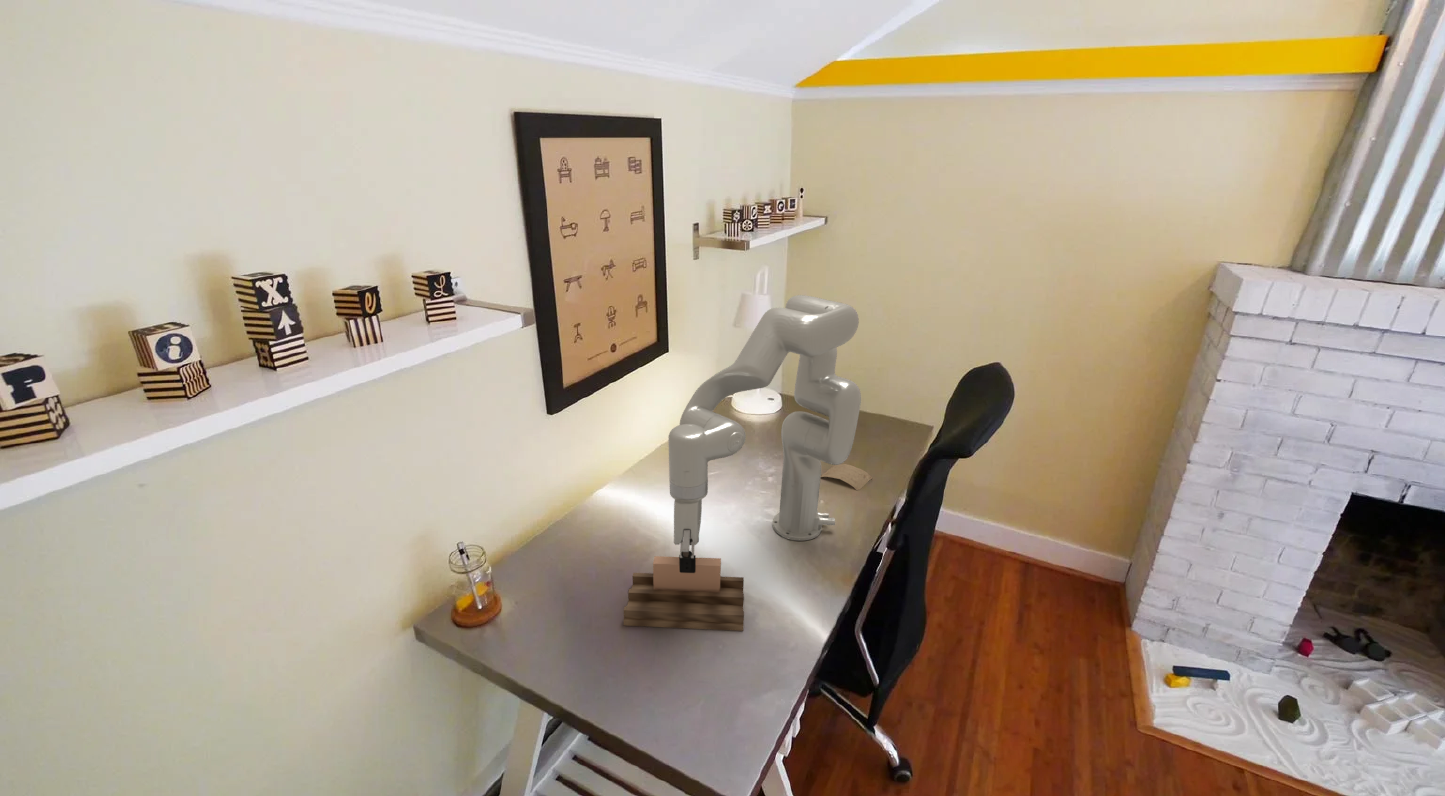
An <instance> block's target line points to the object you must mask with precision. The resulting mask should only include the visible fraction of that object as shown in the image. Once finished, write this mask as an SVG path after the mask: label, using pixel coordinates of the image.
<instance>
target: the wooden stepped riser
mask: <svg viewBox="0 0 1445 796" xmlns="http://www.w3.org/2000/svg"><path fill="white" fill-rule="evenodd" d="M631 576H632V585H631V588H628V592H627V594H628V595H627V596H628V597H627V598H628V601H627V604H626V605H624V608H623V626H627V627H629V626H630V627H647V628H648V627H650V628H651V627H652V628H654V627H655V628H670V629H671V628H673V629H694V630H695V629H697V630H719V631H740V632H743V631H744V626H745V625H744V620H745V610H744V604H745V603H744V602H745V600H744V599H745V593H744V582H745V581H744V580H745V579H744V577H743V576H741V577H739V576H721V575H720V593H717V592H694V591H671V590H654V587H653V572H652V573H651V572H649V573H647V572H633V573H632V575H631Z"/></svg>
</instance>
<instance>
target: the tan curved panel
mask: <svg viewBox="0 0 1445 796" xmlns="http://www.w3.org/2000/svg"><path fill="white" fill-rule="evenodd" d="M823 477H824V478H827V477H828V478H834V479H838V480H841V481H843V482H845V483H847V484H848V485H850V486H851V487H853V489H854V490H856V491H860V490H861V489H862V488H863V487H864V486H865V485H866V484H867V483H868V482H869V481H870V480H872V479H873V477H872V476H871V475H870V474H869V473H868V472H867V471H865V470H863V469H862V468H859V467H856V466H854V465H851V464H848V463H842V464H839V465H832V466H831V467H830V468H829V469H827V470H826V471H825V472H824V473H821V478H823Z"/></svg>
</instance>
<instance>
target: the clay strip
mask: <svg viewBox="0 0 1445 796" xmlns="http://www.w3.org/2000/svg"><path fill="white" fill-rule="evenodd" d="M721 569H722V558H720V557H719V558H717V557H715V558H714V557H696V571H695V573H681V572H680V570H679V556H661V555H659V556H658V555H655V556H654V557H653V563H652V573H653V587H654V590H671V591H694V592H717V593H720V576H721V575H722V574H721V572H722V571H721Z"/></svg>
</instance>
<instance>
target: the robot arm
mask: <svg viewBox="0 0 1445 796" xmlns="http://www.w3.org/2000/svg"><path fill="white" fill-rule="evenodd" d="M859 323H860V320H859V314H858V311H857V310H856V308H854V307H853V306H852V305H850V304H847V303H843V302H838V301H835V300H828V299H825V298H821V297H816V296H812V295H811V296H810V295H806V294H800V295H799V294H798V295H794V296H791V297H790V298H789V299H787V301H786V304H785V307H772V308H769V309H768V310H767V311H765V312H764V314H763V315H762V316H761V318H760V320H759V321H758V323H757V324H756V326H755V328H754V330H753V331H752V333H751V335H750V336H749V338H748V340H747V341H746V343H745V345H744V346H743V348H742V349H741V351H740V353H739V354H738V356H737V358H736V359H735V361H734V362H733V363H732V364H731V365H729V366H728V367H726V368H724V369H722V370H720V371H718V372H716V373H715V374H714V375H712V376H711V377H709V378H708V379H706V380H705V381H704V382H703V383H701V384H700V385H699V387H698V388H697V389H696V390H695V391H694V392H693V395H692V396H691V398H690V399H689V401H688V402H687V404H686V406H685V408H684V410H683V412H682V414H681V417H680V421H679V425H677V426H675V427H673V428H672V429H671V430H670V431H669V434H668V439H667V440H668V470H669V471H668V472H669V473H668V474H669V475H668V477H669V481H668V482H669V494H670V497H671V498H672V499H674V500H673V501H674V504H673V543H674V545H675V546H676V545H678V546H679V545H680V549H679V550H680V551H679V556H678V557H679V570H680V572H681V573H695V571H696V558H697V557H696V555H695V546H696V545H697V544H698V543H699V541H700V530H701V522H702V507H703V506H702V501H703V499H704V498H706V496H707V495H708V493H709V491H708V488H709V485H708V484H709V483H708V482H709V475H708V473H709V472H708V471H709V468H708V466H709V464H708V463H709V462H710V461H715V460H719V459H724V458H729V457H731V456H733V455H735V454H737V453H738V452H739V451H740V450H741V449H742V448H743V447H744V444H745V443H746V436H747V435H746V431H745V429H744V427H743V425H741V424H740V423H738V422H737V421H735V420H734V419H730V418H729V417H727V416H724V415H722V414H720V413H717V412H714V410H715V409H716V408H717V406H718V405H719V404H720V403H721V402H723V400H725V399H726V398H728V397H729V396H731V395H735V394H737V393H742V392H747V391H753V390H758V389H763V388H766V387H769V386H770V385H771V383H772V381H773V379H774V378H775V376H776V374H777V372H778V371H779V369H780V367H781V365H782V363H783V362H784V361H785V359H786V357H787V356H788V354H789V353H793V354H797V355H799V357H798V358H799V359H798V365H797V372H796V379H795V383H794V393H793V394H794V395H793V396H794V401H795V403H796V404H798V405H799V406H801V407H802V408H805V409H807V410H809V411H812V412H814V413H818V414H820V415H823V416H826V417H828V419H826V418H824V417H822V416H818V415H816V414H812V413H810V412H807V411H793V412H791V413H790V414H788V415H787V416H786V417H785V419H784V420H783V422H782V425H781V437H780V438H781V443H782V454H783V456H782V459H783V460H782V475H781V488H780V500H779V512H778V513H776V514H775V515H774V517H773V518H772V529H773V530H774V532H775V533H777V534H778V535H780V536H781V537H782V538H785V539H788V540H792V541H799V542H801V541H810V540H813V539H814V538H815V539H816V538H817V537H818V536H819V535H820V534H821V532H822V528H823V525H824V526H835V525H836V518H835V517H830V516H829V515H830V514H829V513H828V512H827V513H826V512H823V513H822V512H819V511H818V508H819V507H818V506H819V505H818V504H819V497H820V489H821V478H822V477H821V475H822V463H821V462H824V463H826V464H828V465H832V466H833V465H839V464H844V463H845V461H847V459H848V458H849V456H850V454H851V451H852V448H853V445H854V441H855V435H856V430H857V425H858V421H859V420H858V419H859V415H860V411H861V410H860V409H861V403H862V393H861V389H860V387H859V386H858V384H857V383H856V382H855V381H852V380H851V379H848V378H846V377H845V378H844V377H842V376H838V375H837V374H836V364H837V359H838V358H837V357H838V348H839V347H841V346H843V345H845V344H846V343H848V342H849V341H851V339H852V338H853V337H854V336H855V335H856V333H857V330H858V328H859ZM690 546H691V550H690Z"/></svg>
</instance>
